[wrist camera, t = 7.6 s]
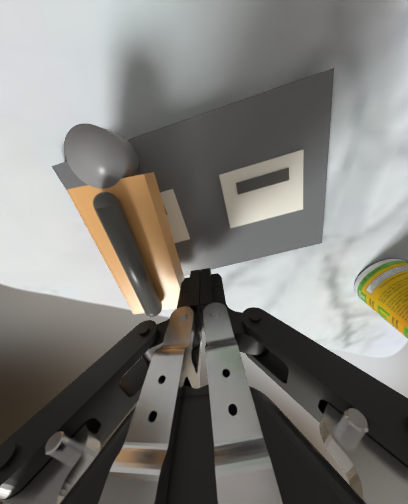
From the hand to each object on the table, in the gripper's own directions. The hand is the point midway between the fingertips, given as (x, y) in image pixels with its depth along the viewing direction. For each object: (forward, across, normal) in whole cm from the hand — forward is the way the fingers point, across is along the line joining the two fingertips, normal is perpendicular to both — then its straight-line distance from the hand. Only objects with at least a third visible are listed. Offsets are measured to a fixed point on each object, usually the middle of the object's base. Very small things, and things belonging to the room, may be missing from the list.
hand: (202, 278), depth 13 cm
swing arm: (+1, +4, -4) cm, 6 cm away
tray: (+4, -1, -5) cm, 6 cm away
